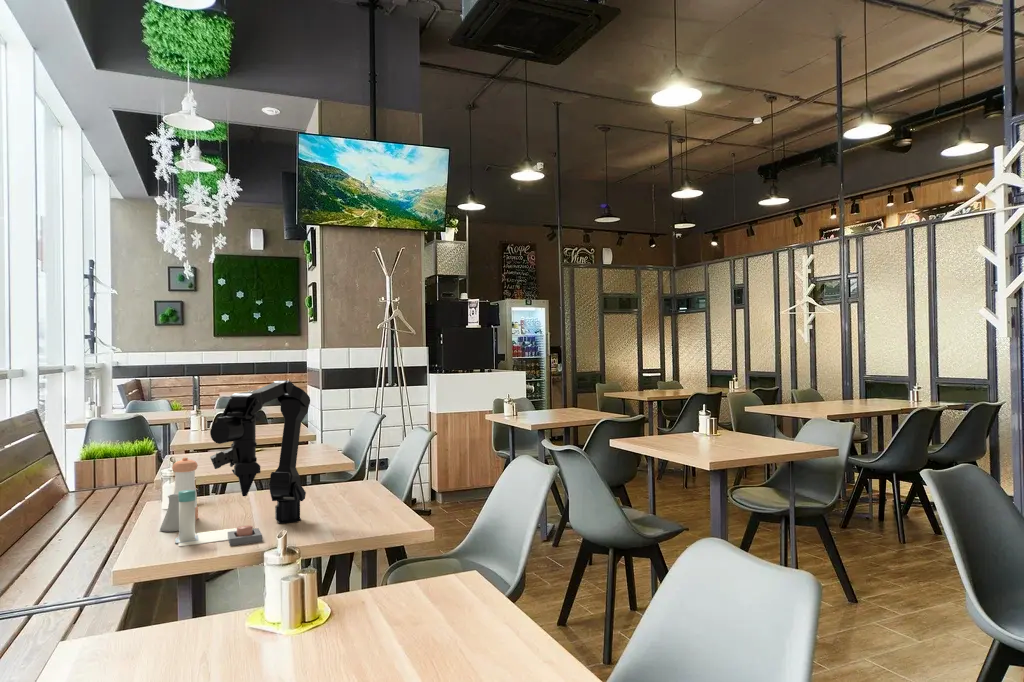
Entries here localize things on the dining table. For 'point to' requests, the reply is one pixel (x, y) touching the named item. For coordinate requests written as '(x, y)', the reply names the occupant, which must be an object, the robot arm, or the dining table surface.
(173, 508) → the flask
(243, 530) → the button
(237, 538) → the button collar
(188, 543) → the paper
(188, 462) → the pepper shaker
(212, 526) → the dining table surface
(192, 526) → the marker
